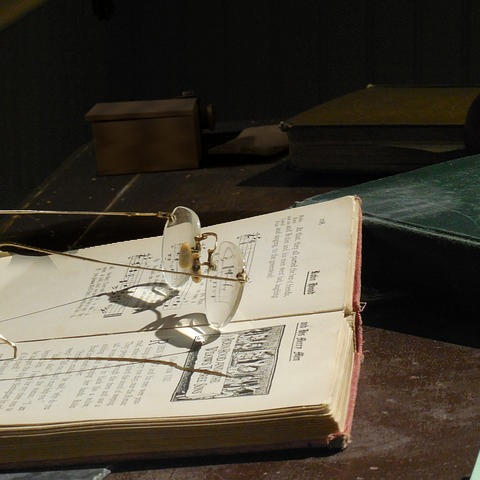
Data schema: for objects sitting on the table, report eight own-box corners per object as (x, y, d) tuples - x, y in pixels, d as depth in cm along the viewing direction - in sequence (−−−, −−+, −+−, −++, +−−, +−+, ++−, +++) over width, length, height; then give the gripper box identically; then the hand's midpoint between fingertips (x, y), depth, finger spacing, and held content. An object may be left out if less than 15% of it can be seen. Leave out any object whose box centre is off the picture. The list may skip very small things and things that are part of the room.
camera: (212, 151, 152) (207, 101, 149) (170, 154, 152) (164, 104, 149) (220, 132, 167) (216, 87, 165) (182, 134, 167) (177, 89, 165)
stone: (309, 143, 153) (307, 123, 152) (252, 163, 140) (251, 141, 139) (253, 140, 158) (252, 121, 157) (194, 159, 146) (192, 138, 145)
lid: (85, 121, 137) (84, 115, 137) (97, 108, 148) (96, 103, 148) (193, 115, 138) (192, 109, 138) (197, 103, 149) (196, 98, 149)
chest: (99, 175, 139) (91, 123, 137) (109, 159, 150) (103, 110, 148) (198, 168, 140) (193, 115, 138) (202, 152, 151) (197, 103, 149)
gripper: (146, -115, 137) (158, 15, 142) (41, -110, 136) (57, 21, 141) (140, -120, 130) (154, 18, 135) (29, -114, 129) (47, 24, 134)
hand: (105, 19), depth 138 cm, fingers closed
